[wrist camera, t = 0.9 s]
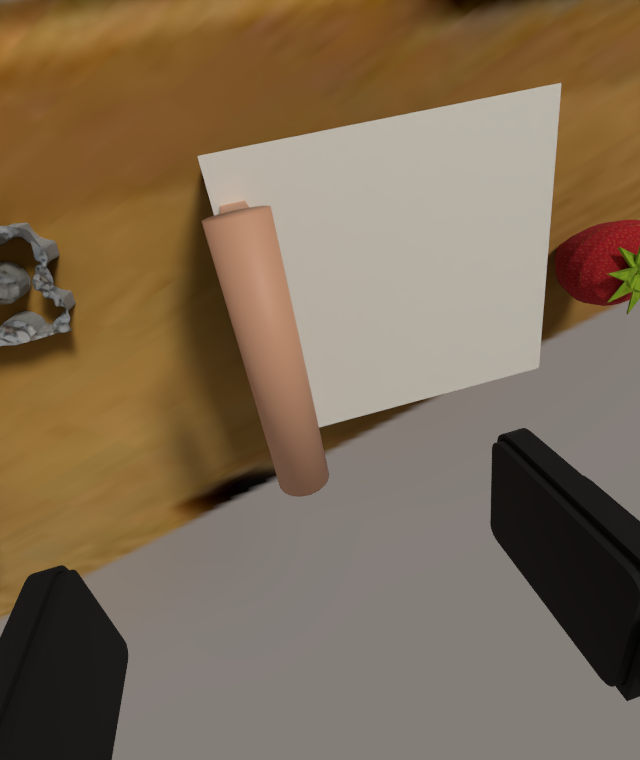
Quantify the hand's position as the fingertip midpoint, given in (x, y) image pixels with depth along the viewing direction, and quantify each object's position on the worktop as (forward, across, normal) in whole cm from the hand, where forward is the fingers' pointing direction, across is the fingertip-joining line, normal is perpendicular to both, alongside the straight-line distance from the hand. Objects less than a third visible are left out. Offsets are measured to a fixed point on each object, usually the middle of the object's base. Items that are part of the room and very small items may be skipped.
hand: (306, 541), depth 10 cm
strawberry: (+25, -26, +4) cm, 37 cm away
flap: (+16, -9, 0) cm, 18 cm away
